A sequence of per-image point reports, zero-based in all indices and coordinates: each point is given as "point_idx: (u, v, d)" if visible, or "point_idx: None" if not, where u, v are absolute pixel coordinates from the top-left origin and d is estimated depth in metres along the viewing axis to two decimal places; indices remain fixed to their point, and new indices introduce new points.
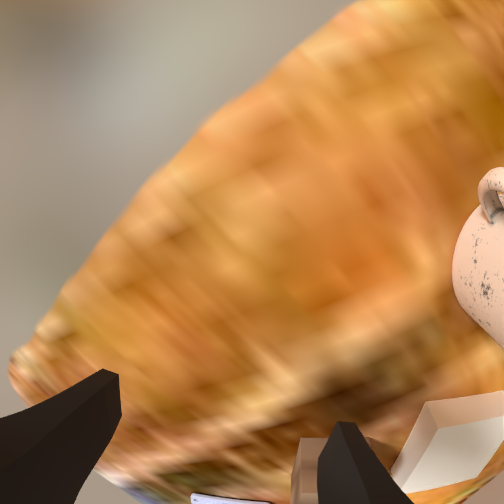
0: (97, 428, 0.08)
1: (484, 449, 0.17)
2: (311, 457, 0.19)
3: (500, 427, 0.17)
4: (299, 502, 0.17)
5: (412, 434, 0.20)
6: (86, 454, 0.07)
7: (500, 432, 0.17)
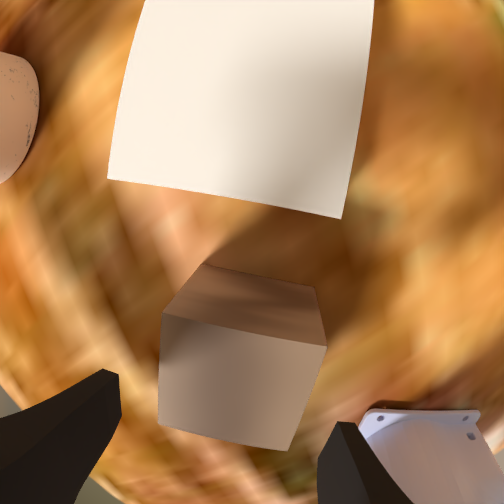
0: (97, 428, 0.08)
1: (241, 15, 0.10)
2: None
3: (174, 8, 0.10)
4: (191, 431, 0.12)
5: None
6: (86, 454, 0.07)
7: None
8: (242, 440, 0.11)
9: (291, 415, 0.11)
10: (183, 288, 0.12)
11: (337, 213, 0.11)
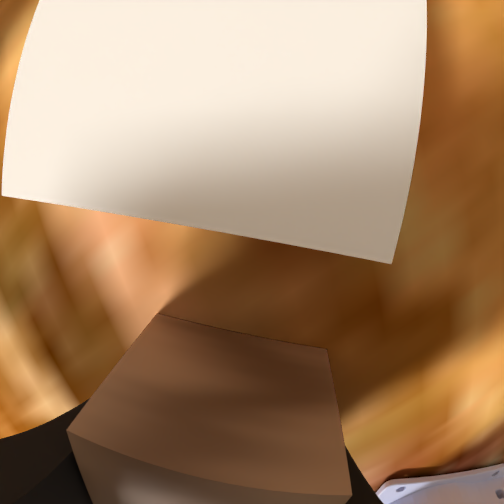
0: None
1: None
2: None
3: None
4: None
5: None
6: None
7: None
8: None
9: None
10: (114, 371, 0.07)
11: (385, 253, 0.06)
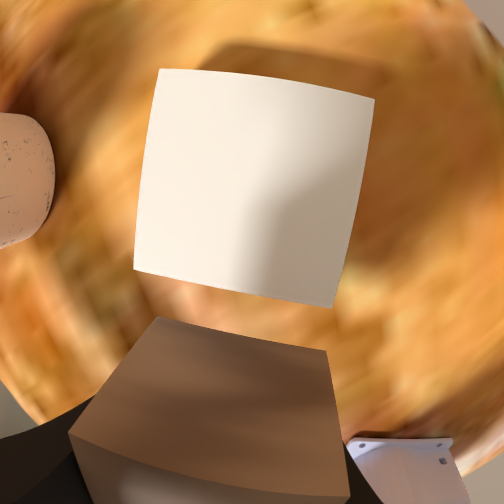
0: None
1: (248, 121, 0.12)
2: None
3: (183, 108, 0.12)
4: None
5: None
6: None
7: (203, 99, 0.12)
8: None
9: None
10: (115, 373, 0.07)
11: (329, 304, 0.14)
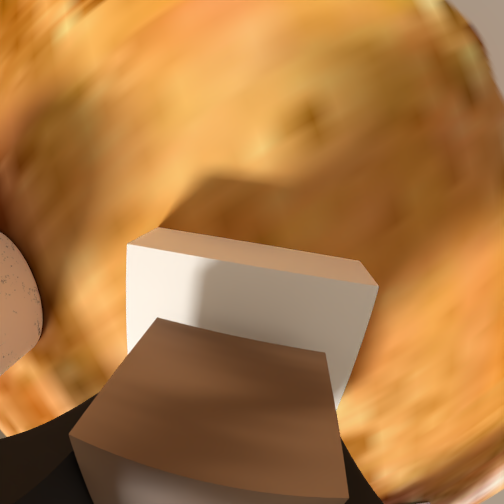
0: None
1: (233, 316, 0.11)
2: None
3: (160, 296, 0.11)
4: None
5: None
6: None
7: (181, 288, 0.11)
8: None
9: None
10: (115, 375, 0.07)
11: None
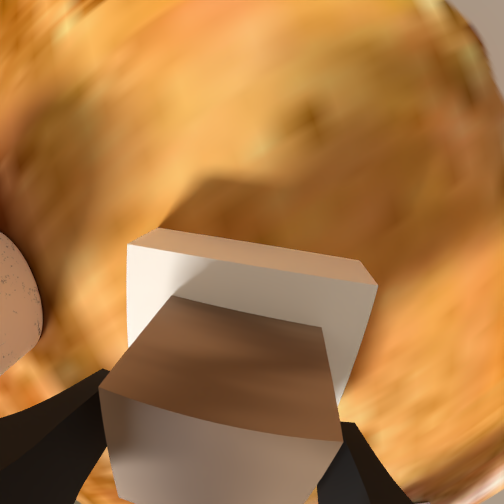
0: (97, 428, 0.08)
1: None
2: None
3: (161, 295, 0.11)
4: None
5: None
6: (86, 454, 0.07)
7: (181, 288, 0.11)
8: None
9: None
10: (137, 340, 0.08)
11: None
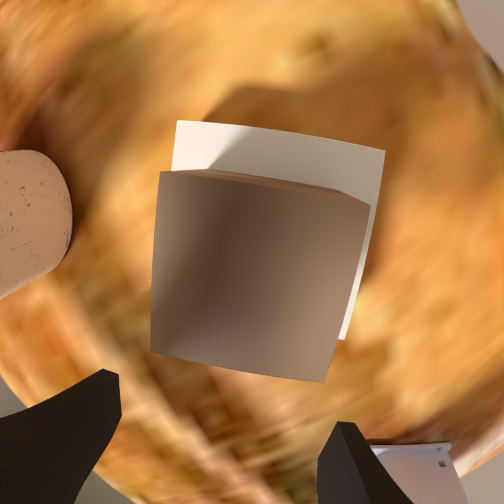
0: (97, 428, 0.08)
1: (267, 176, 0.13)
2: None
3: (204, 162, 0.13)
4: (194, 359, 0.09)
5: None
6: (86, 454, 0.07)
7: (223, 153, 0.13)
8: (263, 368, 0.09)
9: (329, 319, 0.09)
10: (187, 170, 0.10)
11: (342, 336, 0.15)
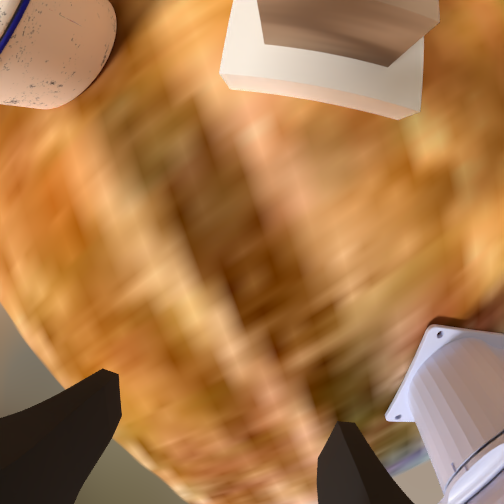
0: (97, 428, 0.08)
1: None
2: None
3: None
4: None
5: (295, 96, 0.15)
6: (86, 454, 0.07)
7: None
8: None
9: None
10: None
11: (417, 107, 0.12)
